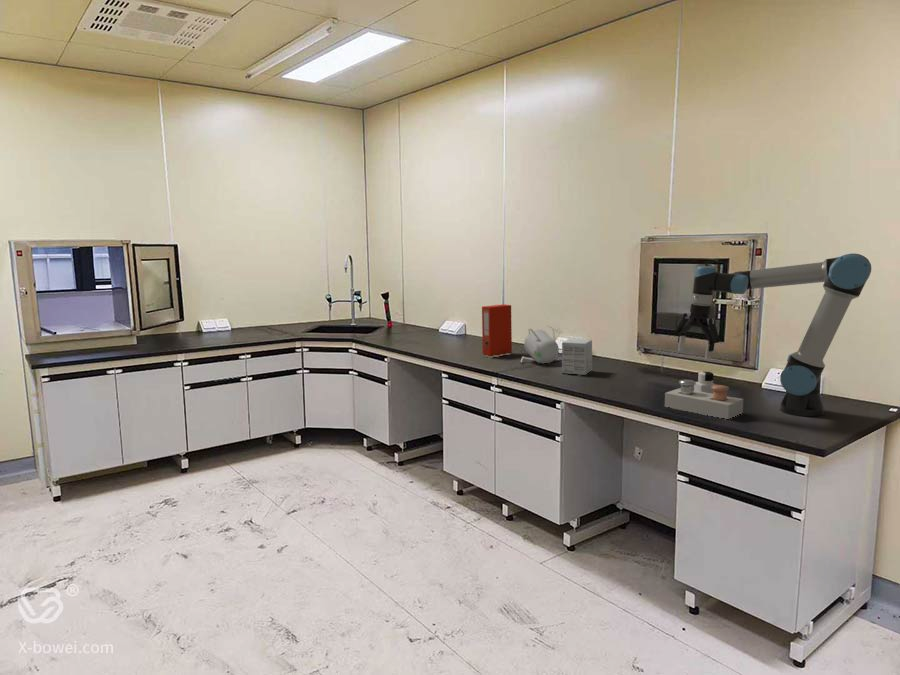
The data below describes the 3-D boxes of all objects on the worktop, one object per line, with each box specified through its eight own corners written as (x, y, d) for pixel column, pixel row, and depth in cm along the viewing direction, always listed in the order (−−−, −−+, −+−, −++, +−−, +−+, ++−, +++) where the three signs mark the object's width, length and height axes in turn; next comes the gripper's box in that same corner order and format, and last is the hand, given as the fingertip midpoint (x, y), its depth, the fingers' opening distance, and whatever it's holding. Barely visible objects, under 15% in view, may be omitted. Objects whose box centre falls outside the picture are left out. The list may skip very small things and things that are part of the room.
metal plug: (698, 398, 248) (698, 381, 247) (690, 401, 244) (690, 383, 243) (683, 396, 253) (684, 378, 252) (675, 398, 249) (676, 381, 248)
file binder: (512, 355, 378) (511, 305, 373) (490, 358, 369) (489, 307, 364) (504, 353, 385) (503, 304, 380) (482, 356, 376) (481, 306, 371)
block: (742, 413, 237) (743, 399, 236) (727, 419, 229) (728, 404, 228) (680, 401, 258) (680, 387, 257) (664, 406, 250) (665, 392, 249)
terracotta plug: (731, 405, 237) (732, 386, 236) (723, 408, 233) (724, 389, 232) (715, 402, 242) (716, 384, 241) (707, 405, 238) (708, 386, 237)
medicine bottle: (709, 396, 264) (710, 370, 262) (717, 400, 257) (718, 373, 255) (693, 397, 264) (694, 370, 262) (700, 401, 257) (701, 374, 255)
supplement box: (568, 369, 330) (568, 338, 327) (592, 371, 324) (592, 339, 321) (561, 374, 319) (561, 342, 316) (585, 376, 312) (585, 343, 310)
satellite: (539, 339, 330) (575, 338, 341) (522, 322, 346) (557, 322, 356) (528, 373, 341) (564, 371, 351) (512, 355, 356) (547, 354, 367)
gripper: (670, 299, 251) (664, 348, 255) (721, 309, 229) (713, 362, 234) (682, 299, 254) (676, 347, 259) (734, 309, 233) (726, 361, 237)
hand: (693, 354), depth 246 cm, fingers open, 13 cm apart
